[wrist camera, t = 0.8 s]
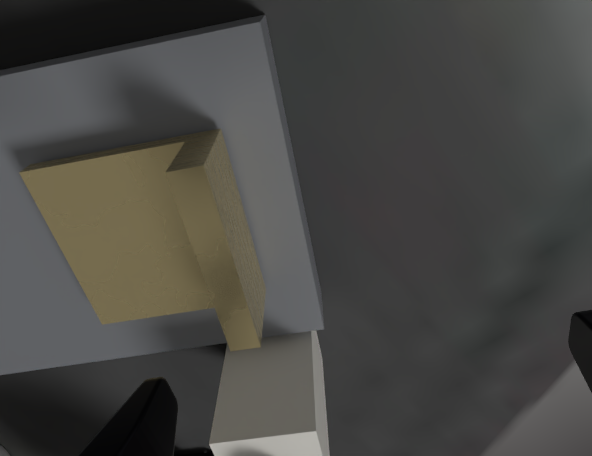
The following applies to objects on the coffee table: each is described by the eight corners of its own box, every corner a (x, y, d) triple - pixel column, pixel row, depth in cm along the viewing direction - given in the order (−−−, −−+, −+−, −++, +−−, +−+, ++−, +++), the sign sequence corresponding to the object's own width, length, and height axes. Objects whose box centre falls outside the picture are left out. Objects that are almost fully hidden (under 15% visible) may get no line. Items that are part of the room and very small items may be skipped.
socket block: (320, 291, 24) (324, 329, 22) (-12, 340, 26) (-46, 381, 23) (265, 14, 17) (259, 21, 15) (-184, 108, 19) (-259, 130, 16)
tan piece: (265, 288, 20) (260, 347, 17) (108, 312, 21) (75, 373, 18) (221, 128, 16) (203, 165, 13) (30, 164, 17) (-30, 207, 14)
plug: (322, 358, 27) (334, 528, 19) (250, 368, 27) (232, 538, 19) (309, 302, 25) (317, 467, 16) (232, 314, 25) (202, 480, 17)
